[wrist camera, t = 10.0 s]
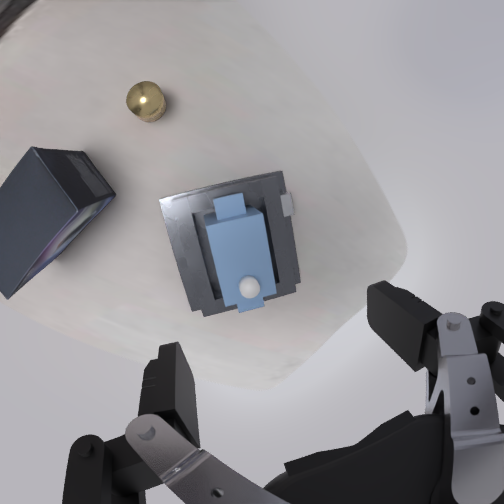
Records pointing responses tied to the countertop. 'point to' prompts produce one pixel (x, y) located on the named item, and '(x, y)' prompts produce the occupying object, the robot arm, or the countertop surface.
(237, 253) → the servo
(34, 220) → the small box
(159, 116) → the cylinder
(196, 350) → the countertop surface
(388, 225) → the countertop surface
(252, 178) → the frame
